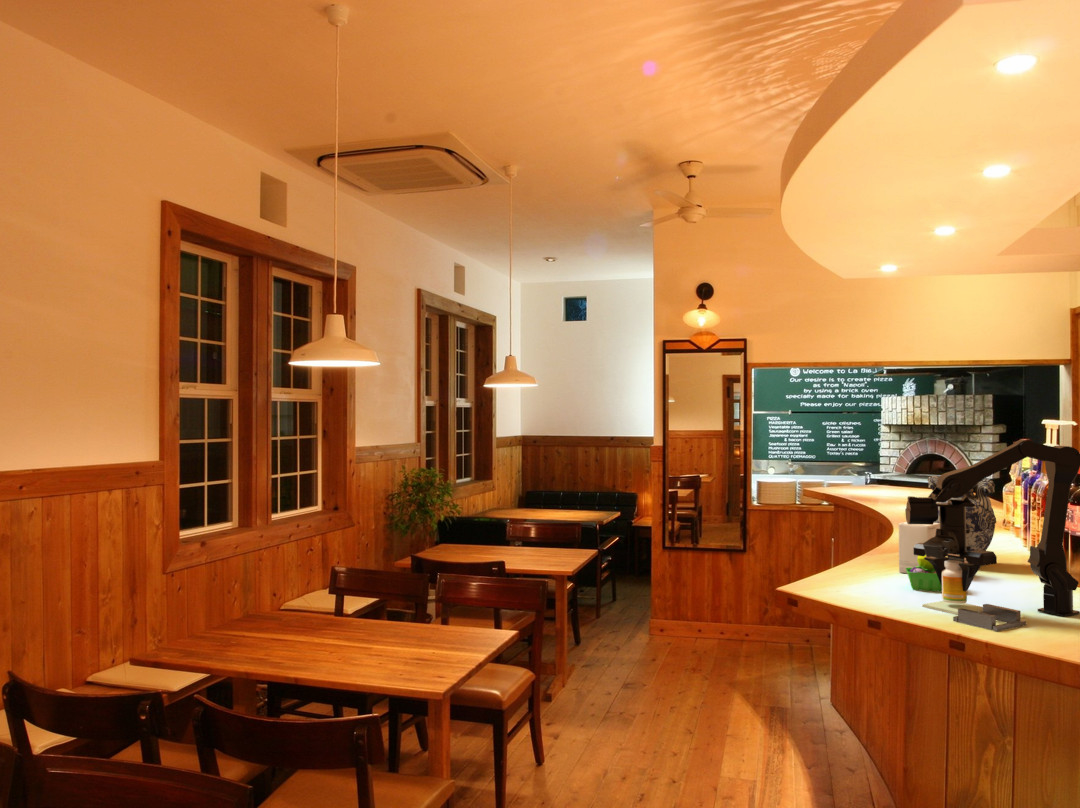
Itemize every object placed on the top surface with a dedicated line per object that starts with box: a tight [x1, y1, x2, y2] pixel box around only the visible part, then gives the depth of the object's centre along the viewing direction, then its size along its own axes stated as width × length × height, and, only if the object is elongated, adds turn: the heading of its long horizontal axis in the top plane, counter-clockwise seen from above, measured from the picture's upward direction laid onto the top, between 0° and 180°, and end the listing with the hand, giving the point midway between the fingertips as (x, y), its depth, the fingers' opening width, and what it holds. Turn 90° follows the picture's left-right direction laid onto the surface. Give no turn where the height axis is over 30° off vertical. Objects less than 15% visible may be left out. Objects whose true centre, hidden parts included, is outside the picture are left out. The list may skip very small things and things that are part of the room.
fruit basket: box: [906, 555, 942, 592], centre depth 222 cm, size 11×9×11 cm
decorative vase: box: [927, 475, 997, 563], centre depth 256 cm, size 21×19×28 cm
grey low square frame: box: [952, 603, 1027, 632], centre depth 185 cm, size 10×10×3 cm
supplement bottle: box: [941, 560, 968, 604], centre depth 199 cm, size 5×5×10 cm
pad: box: [921, 600, 983, 616], centre depth 199 cm, size 10×10×1 cm
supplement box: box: [898, 521, 940, 575], centre depth 244 cm, size 9×9×15 cm
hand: (954, 589), depth 199 cm, fingers closed on supplement bottle, 5 cm apart
